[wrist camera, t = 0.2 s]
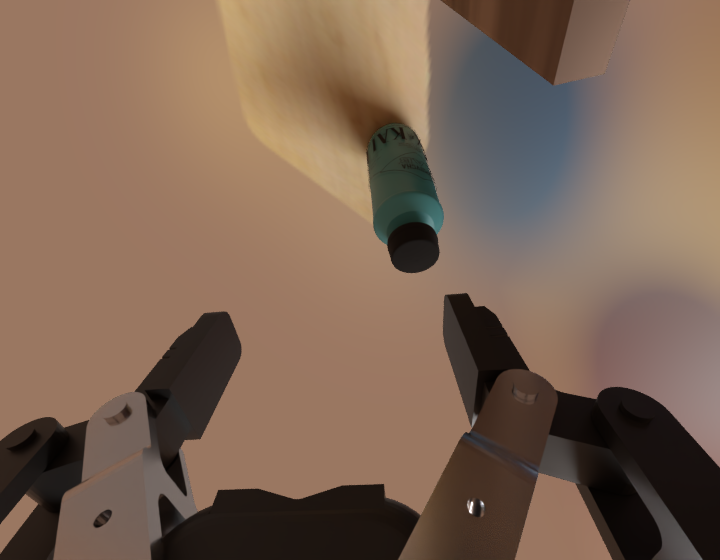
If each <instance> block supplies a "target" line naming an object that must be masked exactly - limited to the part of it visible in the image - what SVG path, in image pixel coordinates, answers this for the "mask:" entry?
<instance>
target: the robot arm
mask: <svg viewBox="0 0 720 560" xmlns="http://www.w3.org/2000/svg"><path fill="white" fill-rule="evenodd" d="M443 336H444V343H445V347H446V350H447V353H448V356H449V359H450V362H451V365H452V368H453V372H454V375H455V378H456V381H457V384H458V387H459V390H460V393H461V397H462V400H463V403H464V405H465V409H466V412H467V415H468V418H469V421H470V424H471V427H472V429H471V431H470V433H467V432H466V433H464V434H463V436H462V437H461V439H460V440H459V442H458V444H457V446H456V448H455V450H454V452H453V454H452V456H451V458H450V460H449V462H448V464H447V466H446V468H445V470H444V471H443V473H442V475H441V477H440V479H439V481H438V483H437V485H436V487H435V489H434V491H433V493H432V495H431V497H430V499H429V501H428V502H427V504H426V506H425V508H424V510H423V512H422V514H421V515H419V514H418V513H417V512H416V511H414V510H413V509H411V508H409V507H408V506H406V505H404V504H402V503H400V502H398V501H395V500H392V499H389V498H386V497H385V490H384V484H374V485H349V486H348V485H347V486H340V487H336V488H333V489H330V490H327V491H324V492H321V493H318V494H315V495H312V496H309V497H306V498H303V499H292V498H288V497H285V496H281V495H278V494H274V493H271V492H267V491H264V490H261V489H235V490H218V492H217V495H216V498H215V500H214V503H213V505H212V506H210V507H208V508H205V509H203V510H201V511H199V512H198V511H197V508H196V506H195V503H194V499H193V494H192V490H191V485H190V481H189V476H188V471H187V467H186V462H185V457H184V453H183V451H182V450H181V448H180V447H181V446H182V444H183V442H184V440H194V439H201V437H202V435H203V433H204V431H205V429H206V427H207V425H208V423H209V420H210V418H211V416H212V414H213V412H214V410H215V408H216V406H217V404H218V402H219V400H220V398H221V396H222V394H223V392H224V390H225V388H226V386H227V384H228V382H229V380H230V378H231V376H232V374H233V372H234V370H235V368H236V366H237V364H238V362H239V359H240V356H241V343H240V340H239V338H238V335H237V333H236V330H235V328H234V325H233V323H232V320H231V318H230V316H229V314H228V313H227V312H212V313H204V314H203V315H202V316H201V317H200V318H199V320H198V321H197V322H196V324H195V325H194V326H193V327H191V328H190V329H188V330H187V331H186V332H184V333H183V334H182V335H180V336H179V337H178V338H177V339H176V340H175V342H174V343H173V344H172V345H171V347H170V350H168V351H167V352H166V353H165V354H164V355H163V357H162V359H160V361H159V362H158V363H157V364H156V366H155V367H154V368H153V369H152V370H151V372H150V373H149V374H148V376H147V377H146V378H145V379H144V380H143V382H142V383H141V384H140V386H139V387H138V388H137V389H136V390H135V392H130V393H126V394H123V395H120V396H118V397H116V398H114V399H112V400H110V401H109V402H107V403H106V404H104V405H103V406H102V407H101V408H99V409H98V410H97V411H96V412H95V413H94V415H93V416H92V417H91V418H90V420H88V421H84V422H81V423H78V424H75V425H72V426H69V427H65V428H64V427H63V426H62V425H61V424H60V423H59V422H58V421H57V420H56V419H54V418H51V417H45V418H40V419H37V420H34V421H31V422H29V423H27V424H25V425H23V426H21V427H19V428H18V429H16V430H14V431H13V432H11V433H10V434H9V435H7V436H6V437H5V438H3V439H2V440H1V441H0V524H1V522H2V521H3V520H4V519H5V518H6V516H7V515H8V514H9V513H10V511H11V510H12V509H13V508H14V507H15V505H16V504H17V503H18V502H19V501H20V499H21V498H22V497H23V496H24V495H25V494H26V495H28V496H29V497H30V498H32V499H33V500H34V501H35V502H37V503H38V505H37V507H36V508H35V509H34V510H33V512H32V513H31V514H30V516H29V517H28V519H27V520H26V521H25V522H24V524H23V525H22V526H21V527H20V529H19V530H18V531H17V533H16V534H15V535H14V537H13V538H12V539H11V540H10V542H9V543H8V544H7V546H6V547H5V548H4V550H3V551H2V553H1V554H0V560H515V557H516V553H517V549H518V546H519V542H520V539H521V535H522V532H523V528H524V524H525V520H526V517H527V513H528V510H529V506H530V503H531V499H532V495H533V492H534V488H535V485H536V481H537V477H538V473H542V474H546V475H549V476H553V477H556V478H560V479H563V480H567V481H570V482H574V483H576V485H577V487H578V489H579V491H580V494H581V495H582V498H583V500H584V501H585V504H586V506H587V508H588V510H589V512H590V514H591V516H592V518H593V520H594V522H595V524H596V526H597V529H598V531H599V532H600V535H601V537H602V539H603V541H604V543H605V545H606V547H607V549H608V551H609V553H610V555H611V557H612V559H613V560H720V467H719V466H718V465H717V464H716V463H715V462H714V461H713V460H712V459H711V457H710V456H709V455H708V454H707V453H706V452H705V451H704V450H703V449H702V447H701V446H700V445H699V444H698V443H697V442H696V441H695V440H694V438H693V437H692V436H691V435H690V434H689V433H688V432H687V431H686V430H685V428H684V427H683V426H682V425H681V424H680V423H679V422H678V421H677V420H676V419H675V417H674V416H673V415H672V414H671V413H670V412H669V411H668V410H667V409H666V408H665V407H664V406H663V405H662V404H660V403H659V402H657V401H656V400H654V399H653V398H651V397H649V396H647V395H645V394H643V393H641V392H638V391H635V390H632V389H628V388H623V387H610V388H606V389H604V390H602V391H601V392H600V393H599V395H598V397H597V399H592V398H587V397H582V396H577V395H572V394H567V393H563V392H560V391H557V390H555V389H554V387H553V386H552V385H551V384H550V383H549V382H548V381H547V380H546V379H544V378H543V377H541V376H540V375H538V374H536V373H533V372H531V371H529V369H528V367H527V366H526V364H525V362H524V361H523V359H522V357H521V356H520V354H519V352H518V351H517V349H516V347H515V346H514V344H513V342H512V341H511V339H510V337H508V335H507V332H506V331H505V329H504V328H503V327H502V324H501V323H500V321H499V319H498V318H497V316H496V315H495V314H494V313H493V312H491V311H490V310H489V309H487V308H486V307H485V306H479V307H474V305H473V303H472V301H471V299H470V297H469V295H468V294H467V293H464V294H451V295H445V297H444V317H443Z"/></svg>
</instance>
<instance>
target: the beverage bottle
mask: <svg viewBox="0 0 720 560" xmlns="http://www.w3.org/2000/svg"><path fill="white" fill-rule="evenodd" d="M414 131H415V130H414ZM414 131H413V130H412V129H411V127H410V128H409V127H408V126H406V125H403V124H400V123H392V124H388V125H385V126H383V127H381V128H380V129H379V130H377V131H376V133H374V134H373V136H372V138H370V139H371V140H370V142H368V143H369V145H368V150H367V149H366V150H367V152H366V153H367V155H366V159H367V161H368V164H367V166H368V167H369V170H368V171H369V177H368V179H369V180H370V189H371V191H370V192H371V198H372V208H373V226H374V231H375V233H376V235H377V237H378V238H379V239H380V240H381V241H382V242H383V243H385V244H387V246H388V251H389V254H390V257H391V261H392V264H393V265H394V267H395V268H397V269H398V270H400V271H402V272H406V273H417V272H421V271H424V270H427V269H429V268H430V267H431V266H433V265H434V264H435V263H436V261H437V260H438V257H439V246H438V238H437V234H438V232H439V231H440V229H441V227H442V224H443V219H444V213H443V209H442V206H441V204H440V203H439V200H438V197H437V193H436V190H435V186H434V183H433V180H432V177H431V173H430V171H429V170H430V169H429V168H428V165H427V162H426V160H427V158H426V157H425V156H426V155H424V153H425V152H424V153H423V151H424V150H423V148H422V145H421V143H420V140H419V139H418V137H419V136H417V135H416V131H415V132H414ZM419 138H420V137H419ZM368 187H369V185H368Z"/></svg>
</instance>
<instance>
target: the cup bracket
mask: <svg viewBox="0 0 720 560" xmlns="http://www.w3.org/2000/svg"><path fill="white" fill-rule="evenodd" d="M441 1H443V2H444V3H445V4H446V5H448V6H449V7H450V8H452V9H453V10H454V11H456V12H457V13H458V14H460V15H461V16H462V17H463V18H465V19H466V20H468V21H469V22H470V23H471V24H473V25H474V26H475V27H477V28H478V29H479V30H481V31H482V32H483V33H485V34H486V35H487V36H489V37H490V38H492V39H493V40H494V41H495V42H497V43H498V44H499V45H501V46H502V47H503V48H505V49H506V50H507V51H509V52H510V53H511V54H512V55H514V56H515V57H516V58H518V59H519V60H521V61H522V62H523V63H524V64H526V65H527V66H528V67H530V68H531V69H532V70H534V71H535V72H536V73H538V74H539V75H540V76H542V77H543V78H544V79H546V80H547V81H549V82H550V83H551V84H552V85H558V84H562V83H567V82H571V81H575V80H579V79H584V78H589V77H592V76H597V75H602V74H605V71H606V68H607V65H608V63H609V60H610V57H611V54H612V51H613V48H614V45H615V42H616V40H617V36H618V34H619V31H620V28H621V25H622V22H623V19H624V16H625V13H626V10H627V8H628V5H629V2H630V0H441Z"/></svg>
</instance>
